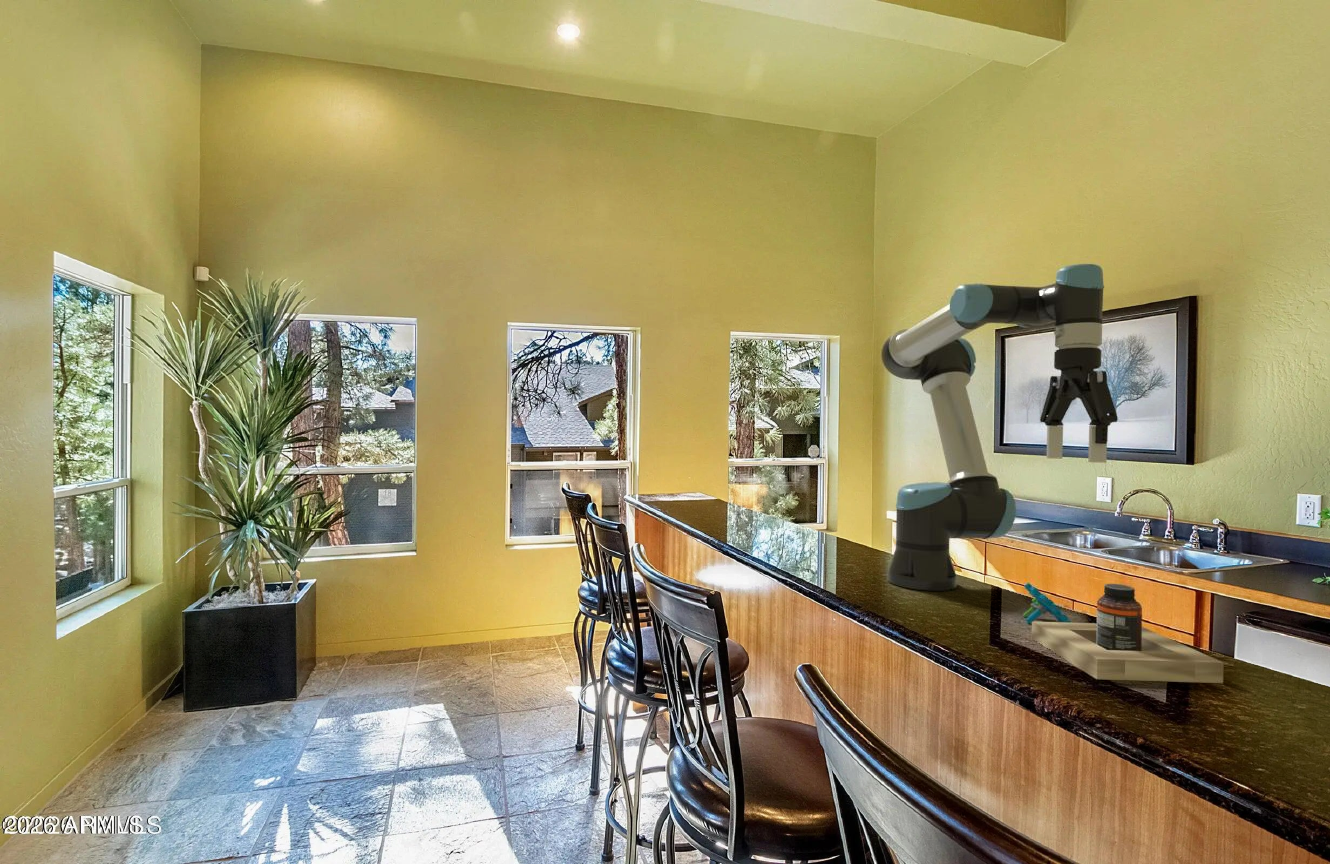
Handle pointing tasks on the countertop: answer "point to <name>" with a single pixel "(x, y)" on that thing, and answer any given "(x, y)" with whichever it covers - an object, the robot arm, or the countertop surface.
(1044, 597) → the gear
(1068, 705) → the countertop surface
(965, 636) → the countertop surface
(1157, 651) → the socket holder
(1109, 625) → the supplement bottle
